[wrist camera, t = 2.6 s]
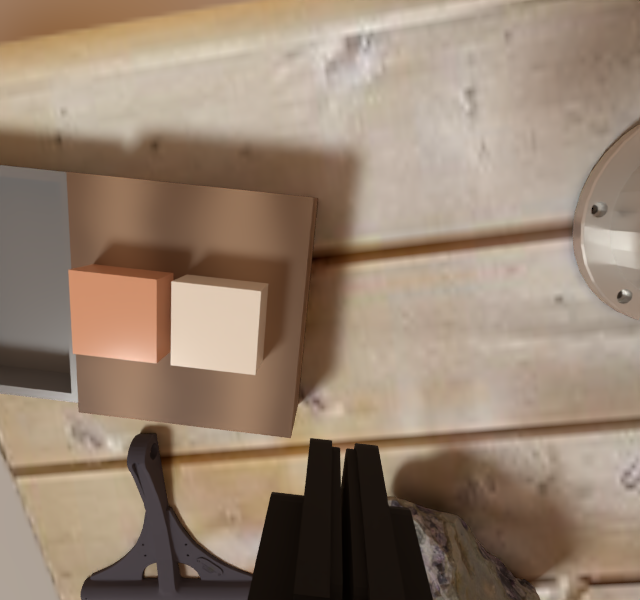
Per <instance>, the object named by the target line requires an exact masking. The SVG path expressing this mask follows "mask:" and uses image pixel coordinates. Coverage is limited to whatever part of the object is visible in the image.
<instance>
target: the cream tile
mask: <svg viewBox="0 0 640 600" xmlns="http://www.w3.org/2000/svg"><path fill="white" fill-rule="evenodd" d="M267 297H268V283H259V282H250V281H241V280H232V279H223V278H214V277H205V276H196V275H185V276H182V277H180V278H178V279H176V280H173V281H171V365H173V366H181V367H190V368H199V369H207V370H216V371H224V372H233V373H241V374H250V375H256V373H257V371H258V369H259V367H260V365H261V363H262V361H263V353H264V339H265V325H266V311H267Z"/></svg>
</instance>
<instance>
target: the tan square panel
mask: <svg viewBox="0 0 640 600" xmlns="http://www.w3.org/2000/svg"><path fill="white" fill-rule="evenodd" d="M66 176H67V196H68V215H69V234H70V253H71V269H74V268H78V267H83V266H87V265H91V264H97V265H106V266H115V267H124V268H133V269H142V270H151V271H160V272H169V273H173V280H176V279H178V278H180V277H182V276H185V275H196V276H205V277H214V278H223V279H232V280H241V281H250V282H259V283H268V297H267V311H266V325H265V339H264V353H263V361H262V363H261V365H260V367H259V369H258V371H257V373H256V375H250V374H241V373H233V372H224V371H216V370H207V369H199V368H190V367H181V366H173V365H171V352H170V353H168V354H167V355H166V356H165V357H164V358H162V359H161V360H160V361H159V362H158V363H157V364H156V363H147V362H139V361H130V360H122V359H113V358H105V357H96V356H88V355H79V354H76V369H77V388H78V408H79V412H81V413H89V414H97V415H106V416H114V417H122V418H130V419H139V420H147V421H155V422H163V423H172V424H180V425H188V426H196V427H204V428H213V429H221V430H229V431H237V432H246V433H254V434H262V435H270V436H279V437H287V438H291V435H292V430H293V425H294V421H295V416H296V412H297V407H298V399H299V389H300V379H301V368H302V358H303V348H304V338H305V327H306V317H307V307H308V296H309V286H310V276H311V265H312V255H313V245H314V235H315V224H316V214H317V204H318V199H317V198H314V197H305V196H295V195H286V194H276V193H267V192H257V191H247V190H238V189H228V188H219V187H209V186H199V185H190V184H180V183H171V182H161V181H151V180H142V179H132V178H123V177H113V176H103V175H94V174H84V173H75V172H66Z"/></svg>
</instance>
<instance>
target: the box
mask: <svg viewBox="0 0 640 600" xmlns="http://www.w3.org/2000/svg"><path fill="white" fill-rule="evenodd" d="M70 269H71V253H70V234H69V215H68V196H67V176H66V172H62V171H52V170H43V169H33V168H24V167H14V166H4V165H0V393H1V394H10V395H18V396H26V397H34V398H43V399H51V400H59V401H68V402H76V403H78V388H77V369H76V354H73V348H72V330H71V311H70V292H69V274H68V270H70Z"/></svg>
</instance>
